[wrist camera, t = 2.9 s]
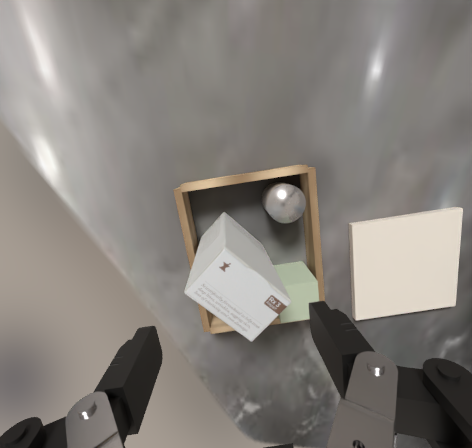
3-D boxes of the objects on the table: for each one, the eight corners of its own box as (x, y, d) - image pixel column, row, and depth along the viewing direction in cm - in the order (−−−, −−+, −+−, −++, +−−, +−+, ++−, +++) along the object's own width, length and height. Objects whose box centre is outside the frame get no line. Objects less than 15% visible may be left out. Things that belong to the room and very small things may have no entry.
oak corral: (305, 163, 25) (314, 163, 22) (316, 301, 29) (325, 316, 26) (179, 183, 25) (172, 186, 22) (207, 317, 29) (204, 334, 26)
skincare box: (199, 238, 27) (175, 295, 15) (225, 208, 26) (221, 244, 14) (240, 271, 28) (248, 349, 16) (266, 243, 27) (294, 303, 15)
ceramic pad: (456, 206, 27) (462, 208, 26) (449, 302, 29) (455, 305, 29) (348, 223, 27) (352, 225, 26) (352, 316, 30) (355, 320, 29)
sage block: (302, 261, 28) (317, 281, 23) (305, 291, 29) (320, 317, 24) (268, 266, 28) (276, 287, 23) (272, 296, 29) (280, 323, 24)
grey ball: (292, 179, 25) (304, 181, 22) (296, 212, 26) (307, 220, 22) (259, 184, 26) (264, 187, 22) (263, 217, 26) (269, 226, 23)
